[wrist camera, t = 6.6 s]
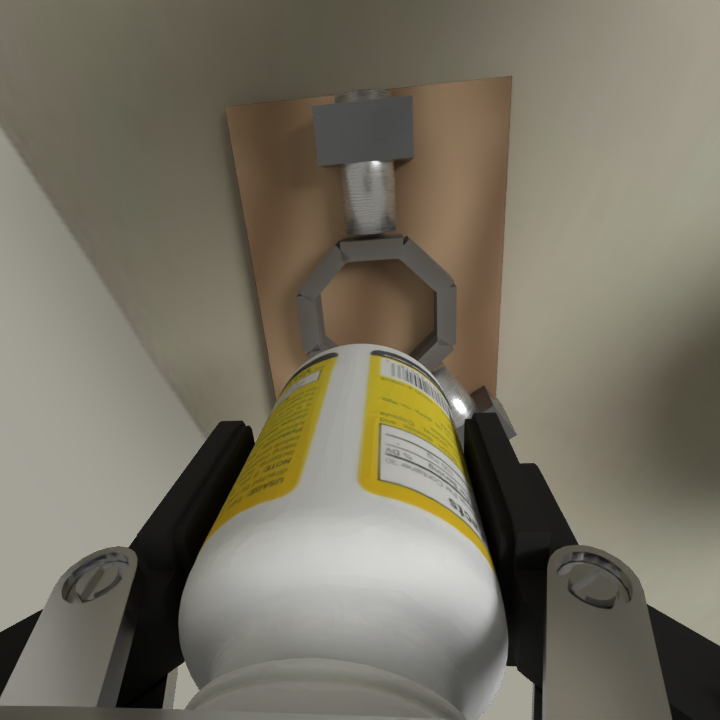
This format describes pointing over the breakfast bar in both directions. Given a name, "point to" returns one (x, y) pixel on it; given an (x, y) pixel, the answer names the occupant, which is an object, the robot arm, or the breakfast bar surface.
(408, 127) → the shaft
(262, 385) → the breakfast bar surface
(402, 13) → the breakfast bar surface
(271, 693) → the supplement bottle
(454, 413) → the shaft
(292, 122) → the octagonal ring mount
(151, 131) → the breakfast bar surface
